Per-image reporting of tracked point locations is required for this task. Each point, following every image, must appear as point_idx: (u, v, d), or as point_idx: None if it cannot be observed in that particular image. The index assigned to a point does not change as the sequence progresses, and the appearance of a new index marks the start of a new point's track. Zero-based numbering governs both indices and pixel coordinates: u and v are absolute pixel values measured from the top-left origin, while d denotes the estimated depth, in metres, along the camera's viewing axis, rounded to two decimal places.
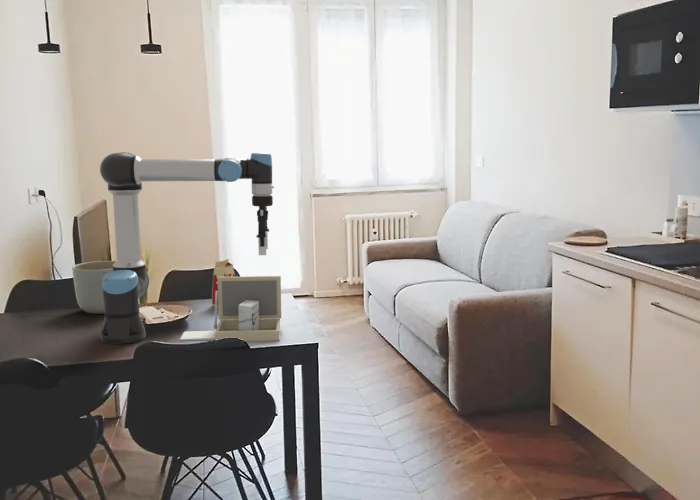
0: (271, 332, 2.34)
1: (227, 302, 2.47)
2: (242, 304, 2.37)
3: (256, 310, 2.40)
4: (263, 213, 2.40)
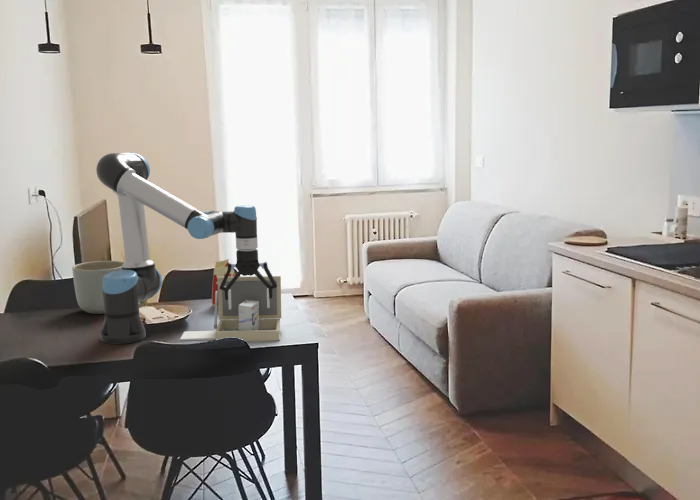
0: (271, 332, 2.34)
1: (227, 302, 2.47)
2: (242, 304, 2.37)
3: (256, 310, 2.40)
4: None
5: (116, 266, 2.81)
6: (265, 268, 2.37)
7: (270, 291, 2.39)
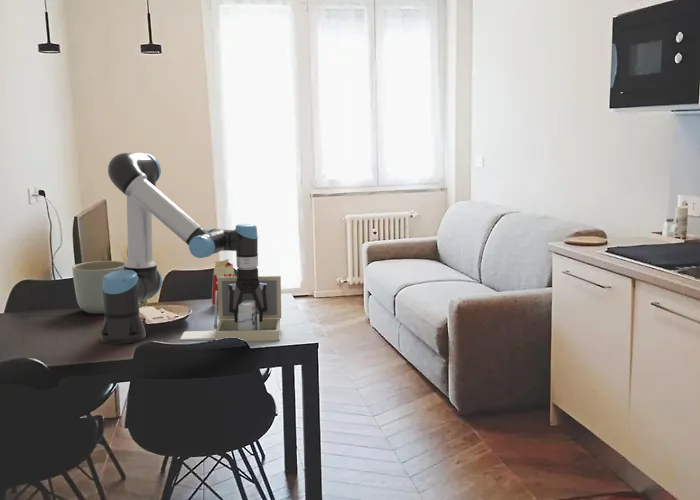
0: (271, 332, 2.34)
1: (227, 302, 2.47)
2: (242, 304, 2.37)
3: (255, 310, 2.40)
4: None
5: (116, 266, 2.81)
6: (263, 290, 2.38)
7: (260, 315, 2.40)
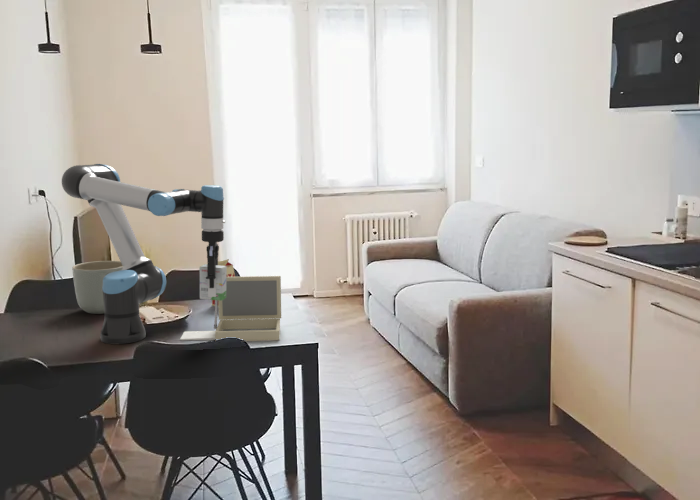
0: (271, 332, 2.34)
1: (227, 302, 2.47)
2: (218, 267, 2.34)
3: None
4: (212, 254, 2.28)
5: (116, 266, 2.81)
6: None
7: None
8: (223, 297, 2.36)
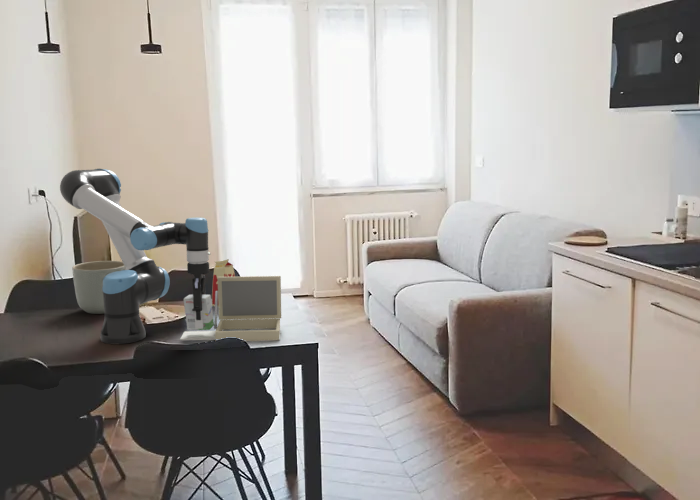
0: (271, 332, 2.34)
1: (227, 302, 2.47)
2: None
3: None
4: (197, 286, 2.29)
5: (116, 266, 2.81)
6: None
7: None
8: (210, 326, 2.36)
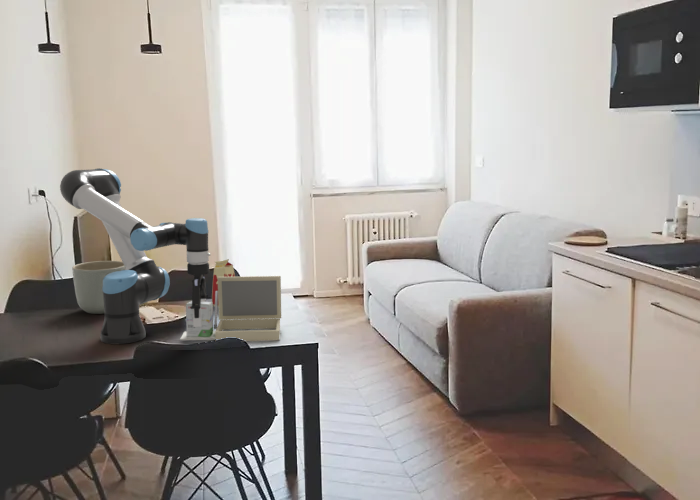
0: (271, 332, 2.34)
1: (227, 302, 2.47)
2: (204, 303, 2.35)
3: None
4: (197, 283, 2.29)
5: (116, 266, 2.81)
6: (204, 278, 2.42)
7: None
8: (210, 333, 2.37)
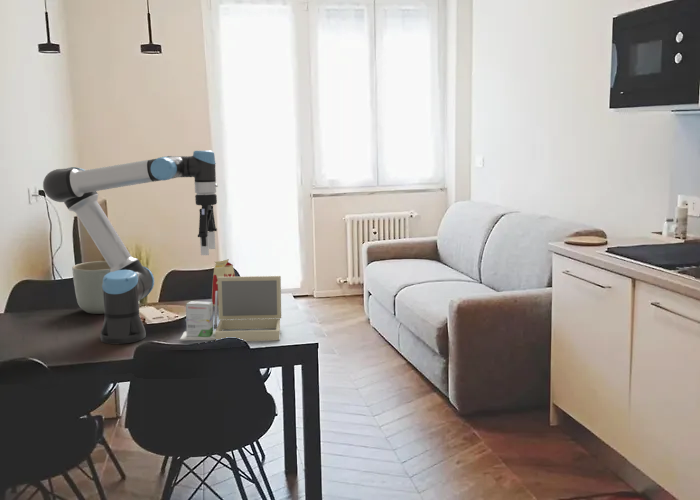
0: (271, 332, 2.34)
1: (227, 302, 2.47)
2: (204, 303, 2.35)
3: None
4: (204, 212, 2.35)
5: None
6: None
7: None
8: (210, 333, 2.37)
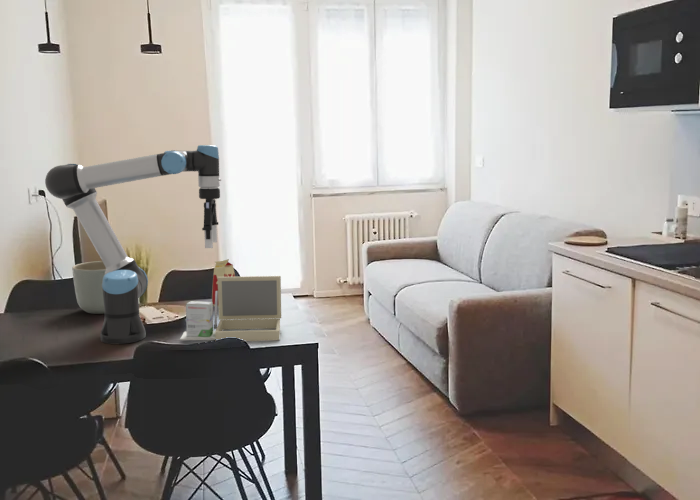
0: (271, 332, 2.34)
1: (227, 302, 2.47)
2: (204, 303, 2.35)
3: None
4: (209, 205, 2.39)
5: None
6: None
7: None
8: (210, 333, 2.37)
